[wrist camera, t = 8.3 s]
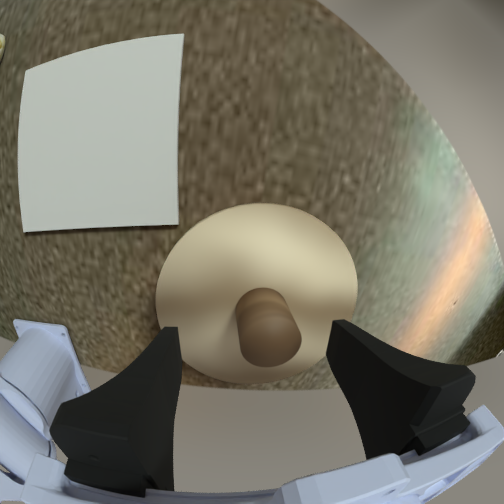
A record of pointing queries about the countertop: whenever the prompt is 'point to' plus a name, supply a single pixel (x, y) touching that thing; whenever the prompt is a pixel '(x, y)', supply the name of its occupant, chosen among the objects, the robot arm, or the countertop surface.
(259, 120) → the countertop surface
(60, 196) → the mat
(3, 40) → the bread roll
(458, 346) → the countertop surface
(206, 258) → the lid
